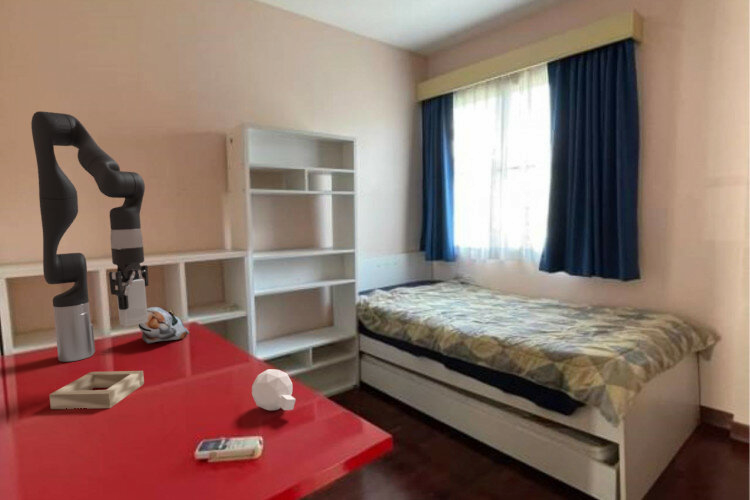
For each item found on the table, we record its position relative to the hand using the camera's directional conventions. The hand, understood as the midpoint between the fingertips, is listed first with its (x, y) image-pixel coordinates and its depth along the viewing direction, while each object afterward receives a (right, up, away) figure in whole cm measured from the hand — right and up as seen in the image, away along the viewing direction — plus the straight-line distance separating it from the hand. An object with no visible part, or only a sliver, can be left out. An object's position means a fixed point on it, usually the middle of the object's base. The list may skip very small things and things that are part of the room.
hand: (132, 306), depth 117 cm
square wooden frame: (-2, -21, -11) cm, 24 cm away
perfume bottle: (+44, -21, -22) cm, 53 cm away
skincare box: (0, -5, 0) cm, 5 cm away
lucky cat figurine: (-9, -17, +35) cm, 40 cm away
